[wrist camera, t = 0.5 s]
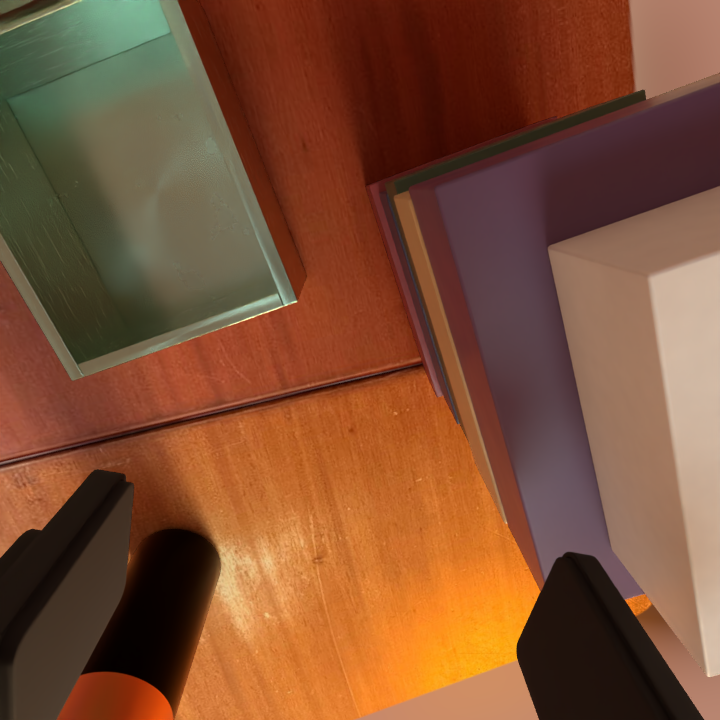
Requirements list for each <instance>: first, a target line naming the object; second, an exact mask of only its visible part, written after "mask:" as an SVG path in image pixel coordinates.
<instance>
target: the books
mask: <svg viewBox="0 0 720 720" xmlns="http://www.w3.org/2000/svg"><path fill="white" fill-rule="evenodd" d="M718 186H720V73H718V74H715V75H712V76H710V77H707V78H704V79H701V80H699V81H696V82H694V83H691V84H688V85H685V86H682V87H680V88H677V89H674V90H671V91H669V92H666V93H663V94H661V95H658V96H655V97H652V98H650V99H647V100H646V95H645V90H641V91H638V92H635V93H632V94H628V95H625V96H622V97H619V98H616V99H613V100H610V101H607V102H604V103H601V104H598V105H595V106H592V107H589V108H586V109H583V110H581V111H578V112H575V113H573V114H570V115H567V116H565V117H562V118H559V119H557V116H555V117H552V118H549V119H546V120H543V121H540V122H537V123H534V124H531V125H528V126H525V127H523V128H520V129H517V130H515V131H512V132H509V133H506V134H504V135H501V136H498V137H496V138H493V139H490V140H488V141H485V142H482V143H479V144H477V145H474V146H471V147H469V148H466V149H463V150H461V151H458V152H455V153H452V154H450V155H447V156H444V157H442V158H439V159H436V160H433V161H431V162H428V163H425V164H423V165H420V166H417V167H415V168H412V169H409V170H406V171H404V172H401V173H398V174H396V175H393V176H390V177H388V178H385V179H382V180H379V181H377V182H374V183H371V184H369V185H366V186H365V187H366V190H367V193H368V196H369V199H370V203H371V206H372V209H373V212H374V215H375V218H376V221H377V224H378V227H379V230H380V233H381V236H382V239H383V243H384V246H385V249H386V252H387V255H388V258H389V261H390V264H391V267H392V270H393V273H394V276H395V279H396V283H397V286H398V289H399V292H400V295H401V298H402V301H403V304H404V307H405V310H406V313H407V316H408V320H409V323H410V326H411V329H412V332H413V335H414V338H415V341H416V344H417V347H418V350H419V353H420V356H421V360H422V363H423V366H424V369H425V372H426V375H427V377H428V379H429V381H430V383H431V385H432V388H433V390H434V392H435V394H436V396H437V397H440V396H444V398H445V400H446V402H447V404H448V406H449V408H450V410H451V412H452V414H453V416H454V418H455V420H456V422H457V424H460V426H461V428H462V430H463V432H464V434H465V436H466V438H467V440H468V442H469V444H470V447H471V451H472V454H473V457H474V460H475V464H476V466H477V468H478V470H479V472H480V474H481V476H482V478H483V480H484V482H485V484H486V486H487V488H488V490H489V492H490V494H491V497H492V499H493V501H494V503H495V505H496V507H497V509H498V511H499V513H500V515H501V517H502V519H503V521H504V522H505V523H508V526H509V528H510V530H511V532H512V534H513V536H514V538H515V540H516V542H517V544H518V546H519V549H520V551H521V553H522V555H523V557H524V559H525V561H526V563H527V565H528V567H529V569H530V571H531V573H532V575H533V577H534V579H535V581H536V583H537V585H538V587H539V589H540V591H541V590H542V588H543V586H544V584H545V581H546V579H547V577H548V575H549V573H550V571H551V568H552V566H553V564H554V562H555V560H556V559H557V558H558V557H562V556H563V554H565V553H566V552H575V553H581V554H586V555H592V556H594V557H596V559H597V560H598V561H599V562H600V564H601V565H602V567H603V568H604V570H605V571H606V573H607V574H608V576H609V577H610V579H611V580H612V582H613V583H614V585H615V586H616V588H617V589H618V591H619V592H620V594H621V595H622V597H623V598H624V600H625V599H629V598H632V597H636V596H639V595H643V594H645V593H644V592H643V590H642V589H641V588H640V586H639V585H638V584H637V582H636V581H635V580H634V578H633V577H632V576H631V574H630V573H629V572H628V570H627V569H626V568H625V566H624V565H623V564H622V562H621V561H620V560H619V558H618V557H617V556H616V554H615V553H614V552H613V550H612V548H611V543H610V539H609V534H608V529H607V525H606V520H605V515H604V511H603V506H602V501H601V497H600V492H599V487H598V482H597V478H596V473H595V468H594V464H593V459H592V454H591V450H590V445H589V440H588V436H587V431H586V426H585V422H584V417H583V412H582V408H581V403H580V398H579V393H578V389H577V384H576V379H575V375H574V370H573V365H572V361H571V356H570V351H569V347H568V342H567V337H566V333H565V328H564V323H563V318H562V314H561V309H560V304H559V300H558V295H557V290H556V286H555V281H554V276H553V272H552V267H551V262H550V258H549V253H548V247H549V246H550V245H552V244H555V243H558V242H561V241H564V240H567V239H569V238H572V237H575V236H578V235H581V234H584V233H587V232H589V231H592V230H595V229H598V228H601V227H604V226H607V225H609V224H612V223H615V222H618V221H621V220H624V219H627V218H630V217H632V216H635V215H638V214H641V213H644V212H647V211H650V210H652V209H655V208H658V207H661V206H664V205H667V204H670V203H672V202H675V201H678V200H681V199H684V198H687V197H690V196H693V195H695V194H698V193H701V192H704V191H707V190H710V189H713V188H715V187H718Z"/></svg>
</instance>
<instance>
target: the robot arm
mask: <svg viewBox="0 0 720 720" xmlns="http://www.w3.org/2000/svg"><path fill="white" fill-rule="evenodd" d="M133 495H134V484H133V483H130V482H126V475H125V474H121V473H116V472H110V471H104V470H99V469H97V470H94V471H93V472H92V473H91V474H90V475H89V476H88V477H87V479H86V480H85V481H84V482H83V483H82V484H81V486H80V487H79V488H78V489H77V490H76V491H75V493H74V494H73V495H72V496H71V497H70V498H69V499H68V501H67V502H66V503H65V504H64V505H63V506H62V508H61V509H60V510H59V511H58V512H57V513H56V515H55V516H54V517H53V518H52V519H51V520H50V521H49V523H48V524H47V525H46V526H45V527H44V528H43V530H42V531H41V530H35V529H30V530H28V531H26V532H25V533H23V534H22V535H21V536H20V537H19V538H18V539H17V540H16V541H15V543H14V544H13V545H12V546H11V547H10V548H9V549H8V550H7V551H6V552H5V553H4V555H3V556H2V557H1V558H0V720H57V718H58V716H59V714H60V712H61V710H62V709H63V707H64V705H65V703H66V701H67V699H68V697H69V695H70V694H71V692H72V690H73V688H74V686H75V684H76V682H77V680H78V679H79V677H80V675H81V673H82V671H83V669H84V667H85V665H86V664H87V662H88V660H89V658H90V656H91V654H92V652H93V650H94V649H95V647H96V645H97V643H98V641H99V639H100V637H101V635H102V634H103V632H104V630H105V628H106V626H107V624H108V622H109V620H110V619H111V617H112V615H113V613H114V611H115V609H116V607H117V605H118V604H119V602H120V600H121V597H122V595H123V591H124V588H125V583H126V574H127V563H128V551H129V540H130V529H131V518H132V506H133ZM517 659H518V662H519V665H520V667H521V670H522V673H523V676H524V679H525V682H526V684H527V687H528V690H529V692H530V696H531V698H532V701H533V704H534V706H535V709H536V712H537V715H538V718H539V720H704V719H703V717H702V716H701V714H700V713H699V711H698V710H697V708H696V707H695V705H694V704H693V702H692V701H691V699H690V698H689V696H688V695H687V693H686V692H685V690H684V689H683V687H682V686H681V684H680V683H679V681H678V680H677V678H676V677H675V675H674V674H673V672H672V671H671V669H670V668H669V666H668V665H667V663H666V662H665V660H664V659H663V657H662V656H661V654H660V653H659V651H658V650H657V648H656V647H655V645H654V644H653V642H652V641H651V639H650V638H649V636H648V635H647V633H646V632H645V630H644V629H643V627H642V626H641V624H640V623H639V621H638V620H637V618H636V617H635V615H634V614H633V612H632V611H631V609H630V607H629V606H628V604H627V603H626V601H625V600H624V598H623V597H622V595H621V594H620V592H619V591H618V589H617V588H616V586H615V585H614V583H613V582H612V580H611V579H610V577H609V576H608V574H607V573H606V571H605V570H604V568H603V567H602V565H601V564H600V562H599V561H598V560H597V559H596V557H594V556H592V555H586V554H581V553H575V552H566V553H565V554H563V556H562V557H558V558H557V559H556V560H555V562H554V564H553V566H552V568H551V571H550V573H549V575H548V577H547V579H546V581H545V584H544V586H543V588H542V590H541V592H540V594H539V597H538V599H537V601H536V603H535V605H534V608H533V610H532V612H531V614H530V616H529V618H528V621H527V623H526V625H525V627H524V629H523V631H522V634H521V636H520V638H519V640H518V643H517Z"/></svg>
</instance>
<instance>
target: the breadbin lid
mask: <svg viewBox="0 0 720 720" xmlns="http://www.w3.org/2000/svg"><path fill="white" fill-rule="evenodd" d="M31 1H34V0H0V15H1V14H3V13H5V12H8V11H10V10H13V9H15V8H17V7H20V6H22V5H24V4H27V3H29V2H31Z"/></svg>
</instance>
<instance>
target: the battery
mask: <svg viewBox="0 0 720 720" xmlns="http://www.w3.org/2000/svg"><path fill="white" fill-rule="evenodd" d="M220 571H221V562H220V558H219V555H218V553H217V551H216V549H215V548H214V547H213V545H212V544H211V543H210V542H209V541H207V540H206V539H205V538H203V537H202V536H200V535H198V534H196V533H193V532H191V531H187V530H182V529H167V530H162V531H158V532H155V533H153V534H151V535H150V536H148V537H147V538H145V539H144V540H143V541H142V542H141V543H140V545H139V546H138V548H137V549H136V551H135V553H134V554H133V556H132V558H131V560H130V561H129V563H128V565H127V574H126V583H125V588H124V591H123V595H122V597H121V600H120V602H119V604H118V605H117V607H116V609H115V611H114V613H113V615H112V617H111V619H110V620H109V622H108V624H107V626H106V628H105V630H104V632H103V634H102V635H101V637H100V639H99V641H98V643H97V645H96V647H95V649H94V650H93V652H92V654H91V656H90V658H89V660H88V662H87V664H86V665H85V667H84V669H83V671H82V673H81V675H80V677H79V679H78V680H77V682H76V684H75V686H74V688H73V690H72V692H71V694H70V695H69V697H68V699H67V701H66V703H65V705H64V707H63V709H62V710H61V712H60V714H59V716H58V718H57V720H174V719H175V716H176V713H177V709H178V706H179V703H180V700H181V697H182V694H183V690H184V687H185V684H186V681H187V678H188V674H189V671H190V668H191V665H192V662H193V659H194V655H195V652H196V649H197V646H198V643H199V639H200V636H201V633H202V630H203V627H204V623H205V620H206V617H207V614H208V611H209V608H210V604H211V601H212V598H213V595H214V592H215V588H216V585H217V582H218V579H219V575H220Z"/></svg>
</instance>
